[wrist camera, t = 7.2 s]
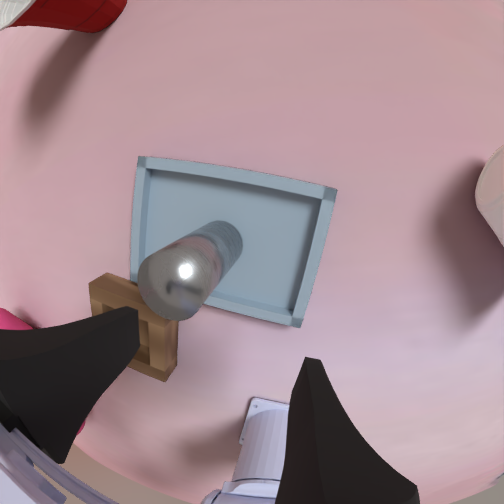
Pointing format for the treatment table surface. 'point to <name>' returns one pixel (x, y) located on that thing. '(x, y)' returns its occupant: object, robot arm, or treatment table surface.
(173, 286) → the dowel
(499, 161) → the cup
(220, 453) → the treatment table surface
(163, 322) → the socket block
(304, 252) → the tray
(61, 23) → the plastic cup
